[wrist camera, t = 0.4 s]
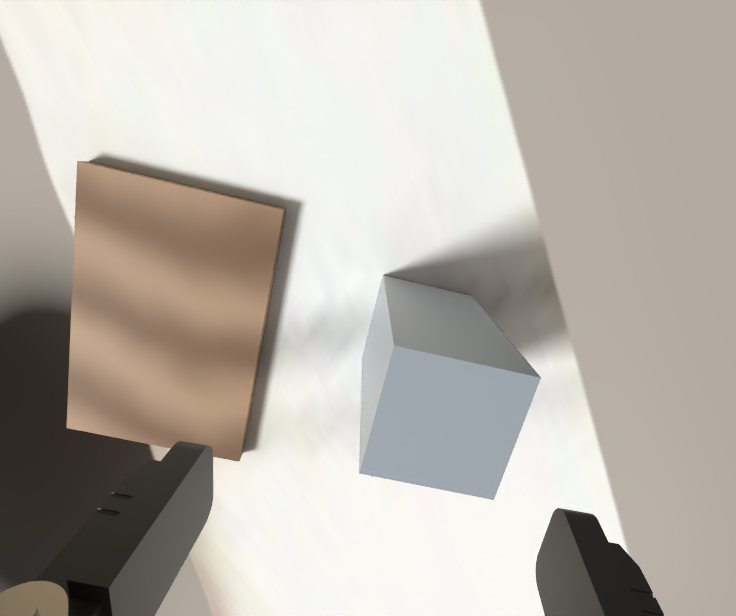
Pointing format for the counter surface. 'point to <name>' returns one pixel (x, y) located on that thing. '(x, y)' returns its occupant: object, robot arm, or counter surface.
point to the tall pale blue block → (440, 391)
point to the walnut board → (167, 309)
